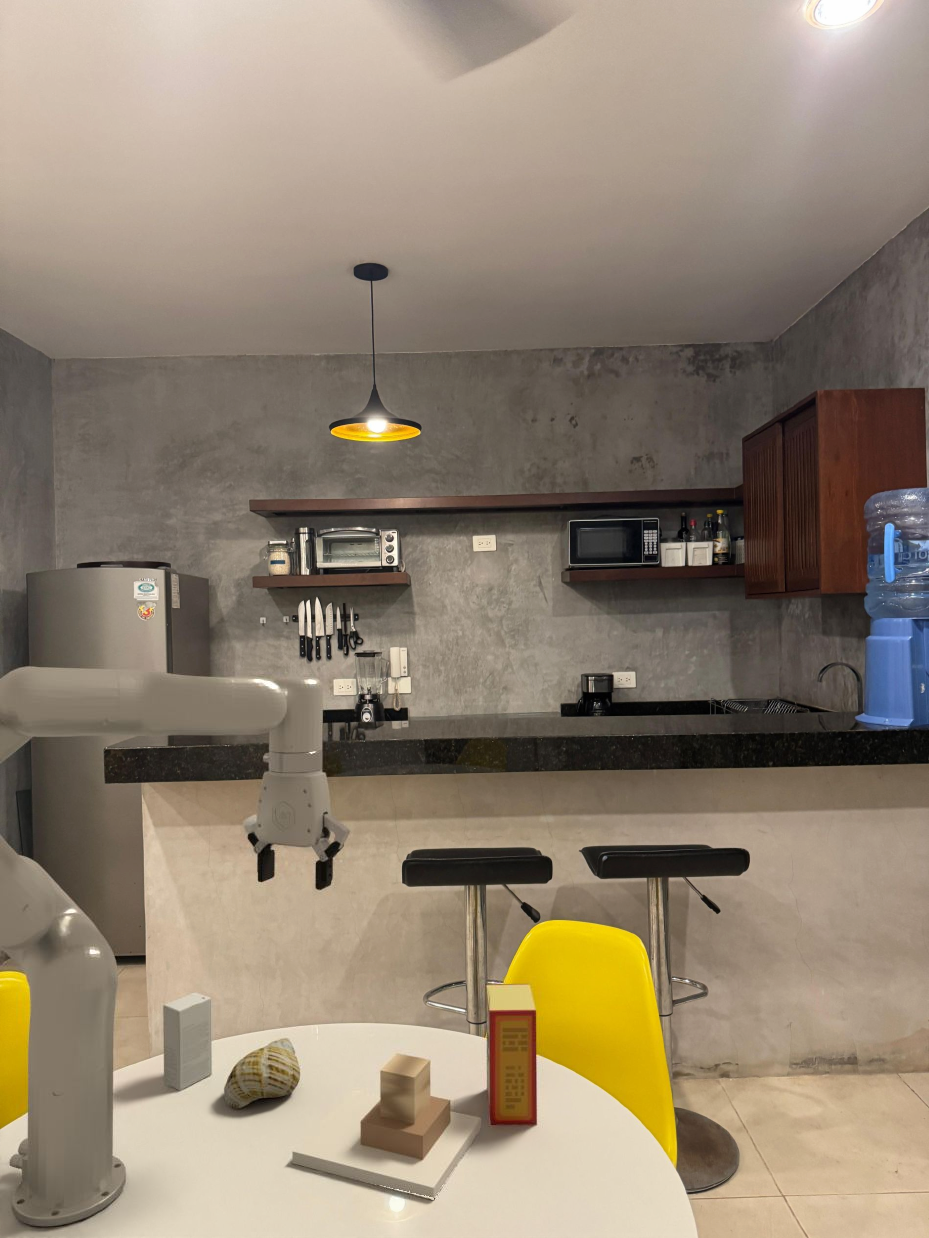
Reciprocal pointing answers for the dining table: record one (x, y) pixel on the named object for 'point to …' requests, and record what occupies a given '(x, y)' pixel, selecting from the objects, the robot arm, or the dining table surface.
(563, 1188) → the dining table surface
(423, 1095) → the oak block
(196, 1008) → the skincare box
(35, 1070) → the robot arm
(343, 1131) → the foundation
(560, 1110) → the dining table surface
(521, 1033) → the baking soda box
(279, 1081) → the seashell
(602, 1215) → the dining table surface
